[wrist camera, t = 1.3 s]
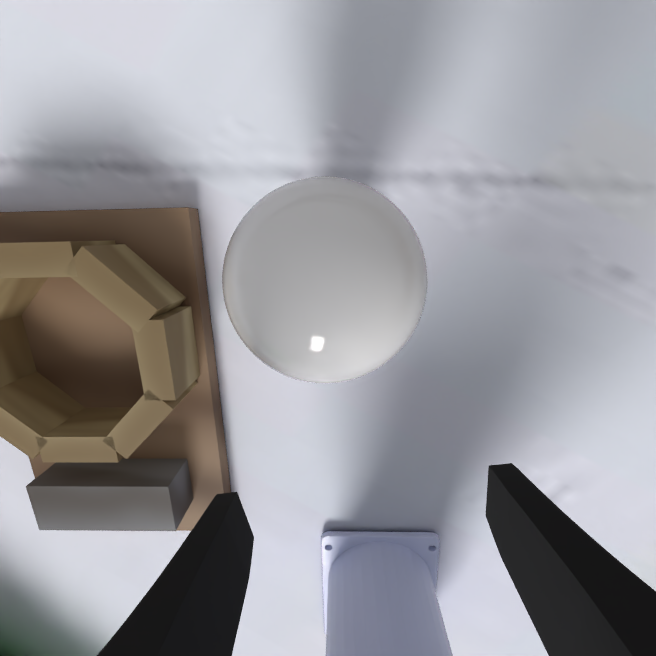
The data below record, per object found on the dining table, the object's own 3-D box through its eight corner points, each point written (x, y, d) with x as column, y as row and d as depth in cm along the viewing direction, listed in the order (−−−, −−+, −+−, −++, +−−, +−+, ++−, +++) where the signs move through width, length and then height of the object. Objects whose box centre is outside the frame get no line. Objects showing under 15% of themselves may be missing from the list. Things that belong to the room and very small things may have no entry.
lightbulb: (314, 340, 20) (286, 464, 9) (249, 246, 18) (128, 262, 8) (410, 281, 19) (506, 342, 8) (348, 176, 17) (365, 84, 7)
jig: (233, 516, 23) (211, 575, 19) (64, 515, 24) (7, 573, 20) (197, 209, 18) (156, 201, 14) (-21, 214, 18) (-123, 208, 14)
